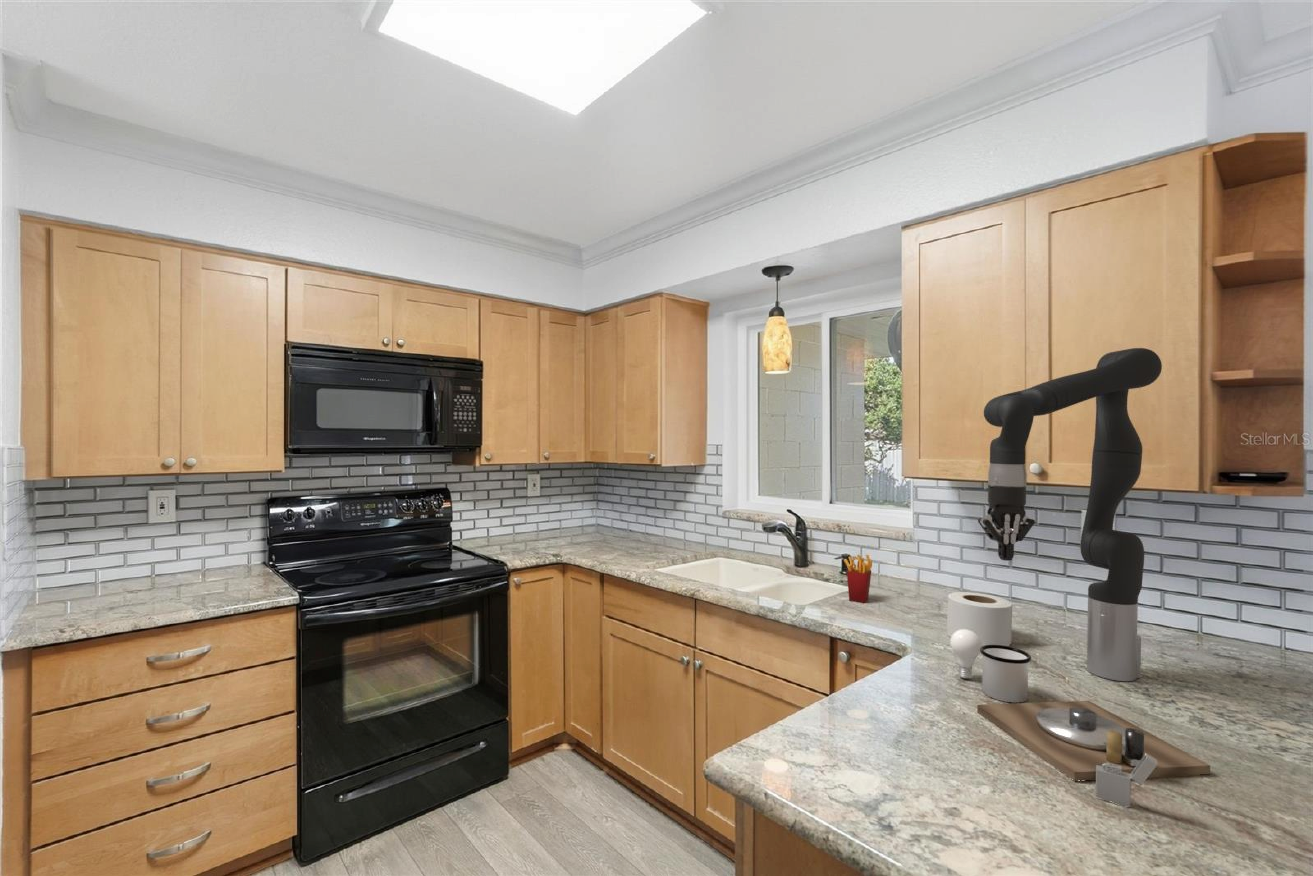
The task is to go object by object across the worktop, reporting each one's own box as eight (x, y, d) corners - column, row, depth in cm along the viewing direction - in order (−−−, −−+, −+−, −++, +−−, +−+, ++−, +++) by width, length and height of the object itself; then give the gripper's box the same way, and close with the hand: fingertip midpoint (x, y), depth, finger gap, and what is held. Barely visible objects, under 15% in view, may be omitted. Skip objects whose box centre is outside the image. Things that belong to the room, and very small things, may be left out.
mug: (1023, 709, 121) (1024, 664, 121) (972, 694, 128) (973, 651, 128) (1039, 692, 130) (1039, 649, 130) (990, 679, 137) (991, 638, 136)
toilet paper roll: (998, 631, 171) (999, 593, 171) (1021, 650, 156) (1022, 608, 156) (939, 627, 174) (940, 589, 174) (956, 645, 158) (957, 604, 158)
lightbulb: (985, 685, 133) (986, 635, 133) (953, 682, 134) (954, 633, 134) (976, 674, 139) (976, 626, 139) (946, 672, 140) (947, 624, 140)
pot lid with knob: (1019, 714, 115) (1019, 688, 115) (1087, 712, 117) (1087, 686, 117) (1100, 768, 97) (1100, 736, 97) (1180, 765, 98) (1181, 734, 98)
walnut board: (1088, 708, 122) (1089, 678, 122) (1210, 774, 98) (1210, 737, 98) (977, 712, 120) (977, 682, 120) (1074, 781, 96) (1075, 743, 96)
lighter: (1095, 798, 91) (1096, 745, 91) (1095, 792, 93) (1096, 740, 93) (1156, 815, 87) (1157, 760, 87) (1155, 809, 89) (1156, 755, 89)
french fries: (866, 604, 196) (867, 558, 196) (840, 600, 201) (841, 554, 200) (873, 598, 203) (874, 553, 203) (848, 594, 208) (849, 550, 208)
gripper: (1021, 482, 143) (1020, 556, 143) (969, 482, 141) (968, 557, 141) (1046, 485, 135) (1044, 563, 135) (991, 485, 134) (990, 564, 134)
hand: (1005, 559), depth 138 cm, fingers closed
